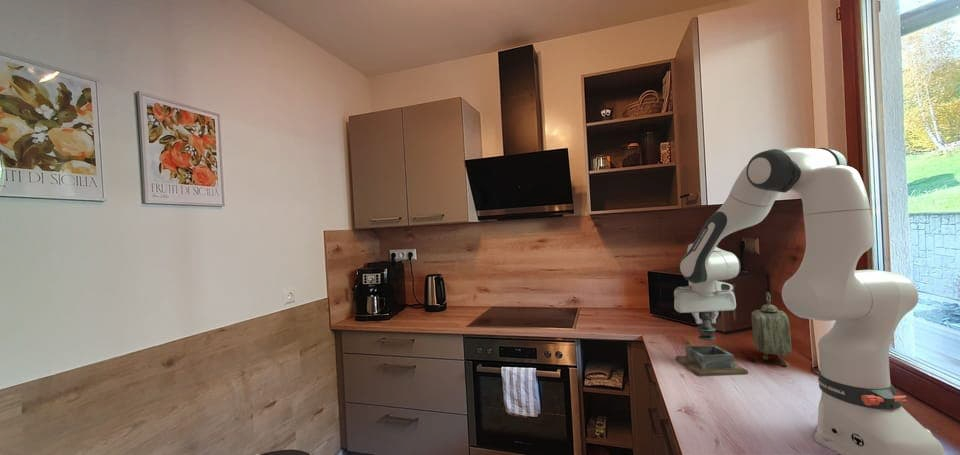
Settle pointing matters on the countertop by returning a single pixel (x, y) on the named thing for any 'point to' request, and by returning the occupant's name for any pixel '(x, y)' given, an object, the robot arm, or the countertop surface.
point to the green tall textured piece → (771, 331)
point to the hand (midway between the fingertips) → (705, 323)
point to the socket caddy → (710, 361)
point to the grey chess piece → (706, 327)
